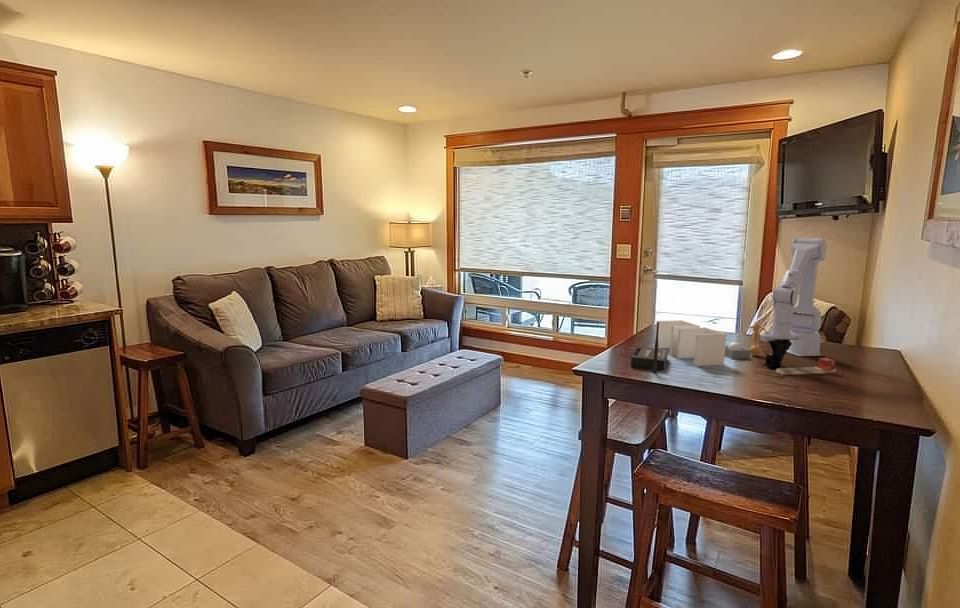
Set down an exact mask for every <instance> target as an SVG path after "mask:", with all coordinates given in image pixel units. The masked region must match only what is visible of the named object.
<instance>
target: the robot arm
mask: <svg viewBox="0 0 960 608" xmlns="http://www.w3.org/2000/svg"><path fill="white" fill-rule="evenodd" d="M791 241H792V242H791V244H790V252H791V254H792V255H791V256H792V257H793V258H792V261H791V264H790V268H789V270H786V271H785V272H784V274H783V276H782V278H781V281H780V283H779V285H778V287H777V288H774V290H773V293H772V309H773V317H772V326H771V331H770V332H769V333H768V334H766V333H765V334H760V340H759V341H761V342H766V343H767V342H768V344H769V346H770V348H771V351H772V354H777V355H779V356H781V362H783V359H784V356H785V354H786V353H787V354H792V355H795V356H797V357H811V356H812V357H813V356H814V357H816V356H819V357H820V356H821V355H822V354H821V353H820V351H821V350H820V348H821V342H822V337H821V334H820V333H819V332H818V331H820V328H821V326H822V312H821V310H820V309H818V308H817V307H816V306H815V305H814V300H815V292H816V284H817V283H816V282H817V275H818V274H817V273H818V267H819V264H820V262H823V261H824V260H825V258H826V253H827V247H828V245H827V240H826V239H825V238H823V237H822V238H809V237H808V238H807V237H804V238H802V237H800V238H799V237H794V239H792V240H791ZM797 302H798V303H797Z"/></svg>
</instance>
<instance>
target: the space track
mask: <svg viewBox="0 0 960 608" xmlns="http://www.w3.org/2000/svg"><path fill="white" fill-rule="evenodd" d="M817 361H818V362H817V366H809V367H807V366H806V367H782V368H777V369H776V370H775V373H777V374H780V375H782V376H784V375H812V374H813V375H815V374H835V373H837V369H835V365H836V360H834V359H831V358H828V357H818V360H817Z"/></svg>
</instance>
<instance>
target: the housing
mask: <svg viewBox="0 0 960 608" xmlns="http://www.w3.org/2000/svg"><path fill="white" fill-rule="evenodd" d="M728 346H729V345H725V355H724V357H727V358H730V359H734V360H735V359H750V358H751V353H750V351H751V350H750V348H746V347H743V346H742V350H732V349H730V348H728Z"/></svg>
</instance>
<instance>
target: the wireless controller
mask: <svg viewBox="0 0 960 608" xmlns="http://www.w3.org/2000/svg"><path fill="white" fill-rule="evenodd" d="M658 331H659V322H657V332H656V331H655V333H656V340H655V339H654V346H655V347H654V348H650V347H644V346H643V347H642V346H641V347H640V346H636V349H635V351H634V352H633V355H631V356H630V357H631V359H630V367H631V368H637V369H646V370H652V373H653V374H657V371H659V372H660V371H661V372H664V370H665V368H666V366H667V365H666V364H667V362H668V353H669V350H668V349H662V348H658Z"/></svg>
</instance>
